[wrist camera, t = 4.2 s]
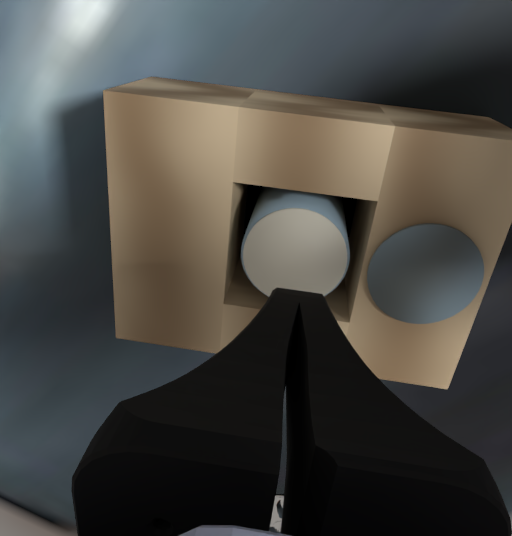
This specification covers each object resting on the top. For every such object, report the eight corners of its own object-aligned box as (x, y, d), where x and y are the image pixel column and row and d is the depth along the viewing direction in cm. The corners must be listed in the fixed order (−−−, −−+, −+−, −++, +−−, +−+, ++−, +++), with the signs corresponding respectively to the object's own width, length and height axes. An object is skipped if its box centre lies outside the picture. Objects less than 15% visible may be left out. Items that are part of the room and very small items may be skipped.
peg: (350, 173, 20) (360, 214, 16) (334, 254, 22) (339, 312, 18) (261, 161, 21) (245, 199, 16) (252, 243, 23) (236, 297, 18)
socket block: (488, 117, 19) (544, 145, 14) (423, 321, 23) (449, 392, 19) (151, 76, 20) (100, 91, 15) (152, 281, 24) (114, 340, 20)
